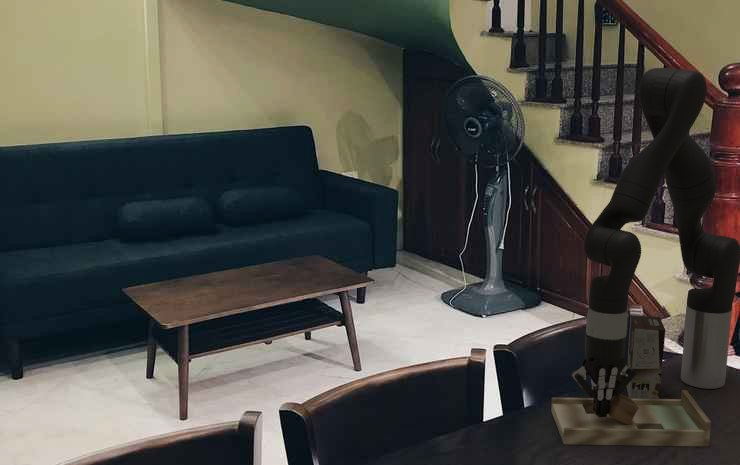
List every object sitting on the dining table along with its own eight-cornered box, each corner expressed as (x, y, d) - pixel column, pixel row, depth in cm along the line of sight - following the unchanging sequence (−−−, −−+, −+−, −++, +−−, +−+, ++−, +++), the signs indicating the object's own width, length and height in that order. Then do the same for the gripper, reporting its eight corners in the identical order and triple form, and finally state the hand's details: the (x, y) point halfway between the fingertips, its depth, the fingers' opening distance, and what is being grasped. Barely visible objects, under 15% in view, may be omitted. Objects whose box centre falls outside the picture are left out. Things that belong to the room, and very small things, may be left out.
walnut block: (604, 408, 172) (613, 391, 171) (621, 416, 172) (631, 398, 172) (611, 417, 168) (621, 399, 167) (629, 425, 169) (639, 407, 168)
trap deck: (563, 444, 165) (564, 419, 164) (551, 411, 179) (552, 388, 178) (708, 446, 164) (711, 421, 163) (684, 413, 178) (686, 390, 177)
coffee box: (660, 403, 183) (666, 330, 179) (628, 400, 184) (633, 328, 181) (655, 386, 192) (661, 316, 188) (625, 383, 193) (630, 314, 189)
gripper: (628, 322, 171) (622, 405, 175) (565, 326, 168) (560, 410, 172) (648, 335, 164) (641, 421, 168) (582, 340, 161) (576, 427, 165)
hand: (600, 415), depth 170 cm, fingers closed
